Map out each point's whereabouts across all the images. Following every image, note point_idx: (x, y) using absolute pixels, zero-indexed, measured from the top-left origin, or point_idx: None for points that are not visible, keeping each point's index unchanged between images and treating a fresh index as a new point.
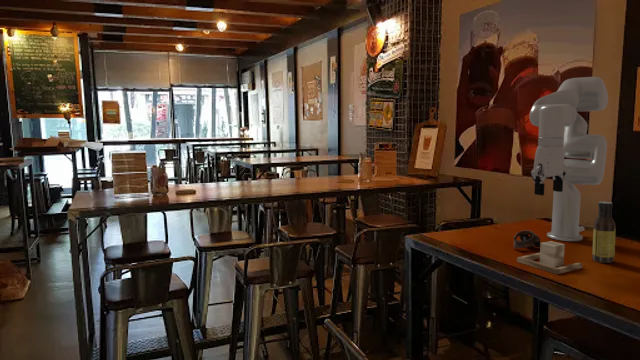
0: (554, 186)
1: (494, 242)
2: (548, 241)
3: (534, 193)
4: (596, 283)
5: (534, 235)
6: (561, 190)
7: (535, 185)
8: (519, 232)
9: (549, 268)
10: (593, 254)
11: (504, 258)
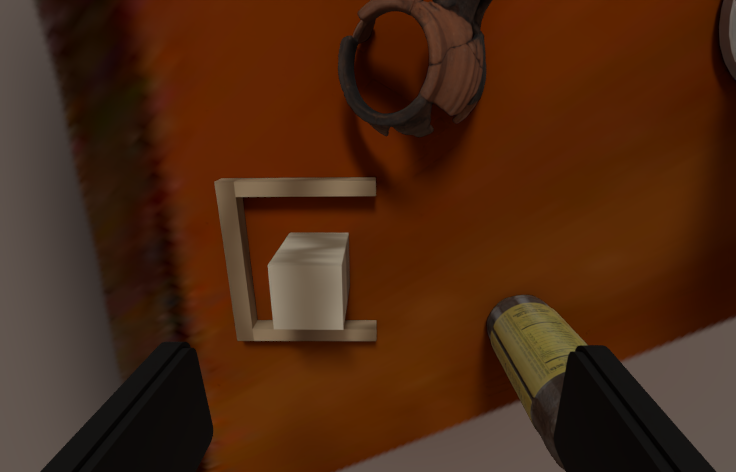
0: (599, 416)
1: None
2: (323, 267)
3: (161, 343)
4: (284, 417)
5: (406, 121)
6: (566, 460)
7: (76, 450)
8: (403, 9)
9: (234, 314)
10: (499, 317)
11: (208, 118)
